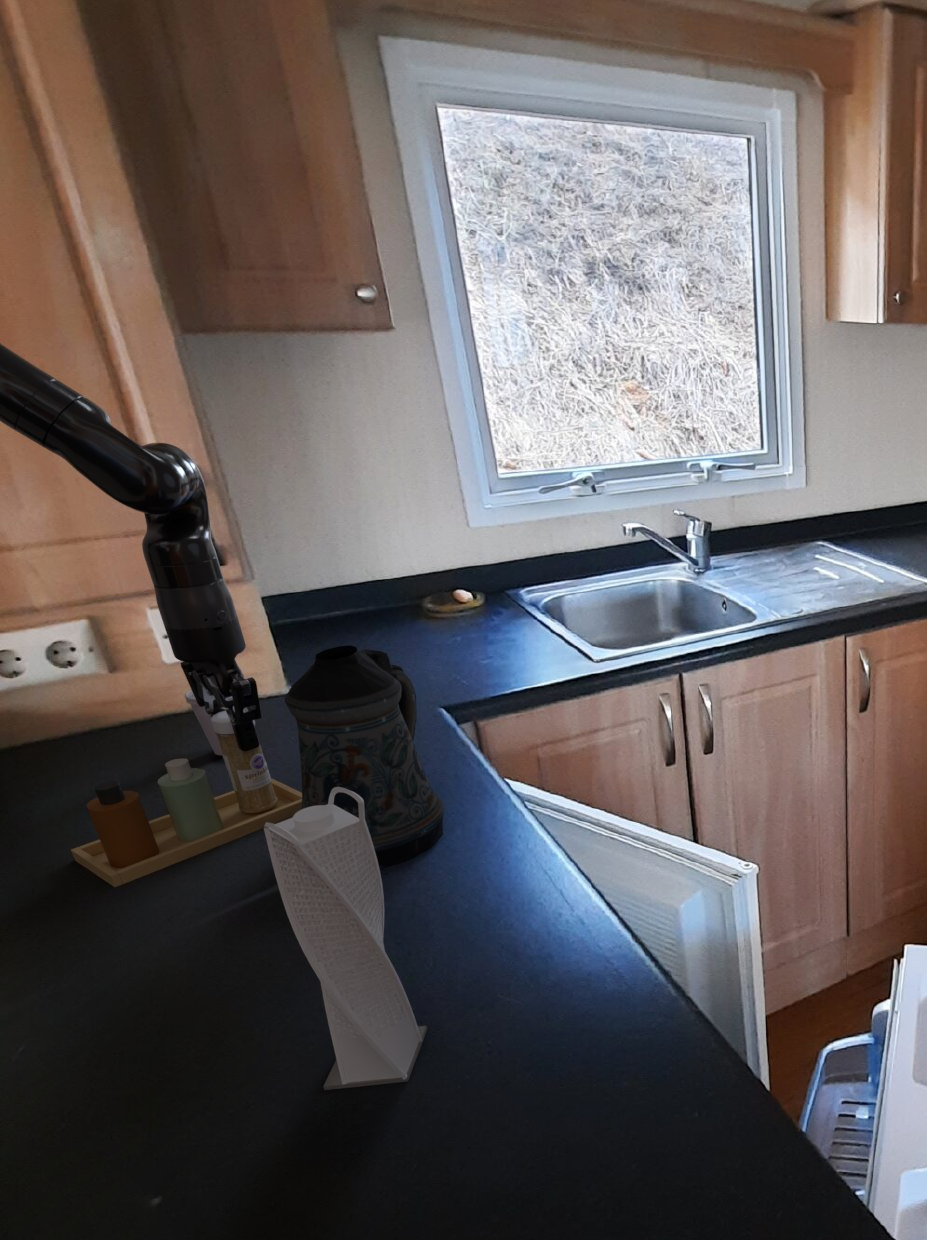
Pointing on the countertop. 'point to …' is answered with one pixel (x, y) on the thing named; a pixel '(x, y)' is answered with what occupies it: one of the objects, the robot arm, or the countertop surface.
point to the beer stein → (366, 749)
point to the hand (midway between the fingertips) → (239, 743)
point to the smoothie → (205, 721)
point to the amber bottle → (121, 825)
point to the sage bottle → (189, 801)
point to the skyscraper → (346, 940)
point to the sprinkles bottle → (244, 769)
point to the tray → (179, 850)
